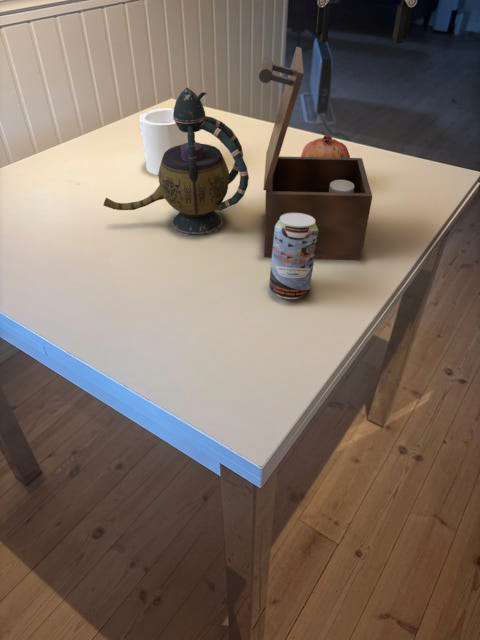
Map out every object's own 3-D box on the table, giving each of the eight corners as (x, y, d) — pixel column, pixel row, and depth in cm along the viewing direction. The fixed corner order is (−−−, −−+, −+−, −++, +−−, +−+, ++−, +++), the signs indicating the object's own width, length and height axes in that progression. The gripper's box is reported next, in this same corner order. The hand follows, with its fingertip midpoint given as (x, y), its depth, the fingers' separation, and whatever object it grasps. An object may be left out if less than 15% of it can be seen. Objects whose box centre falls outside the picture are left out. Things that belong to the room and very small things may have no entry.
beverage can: (265, 302, 72) (267, 231, 64) (274, 273, 77) (277, 204, 69) (307, 308, 70) (315, 236, 62) (314, 278, 76) (322, 209, 68)
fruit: (358, 187, 99) (366, 138, 92) (323, 202, 94) (329, 151, 88) (320, 170, 105) (325, 122, 99) (286, 183, 101) (289, 134, 94)
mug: (153, 150, 114) (147, 103, 107) (196, 150, 114) (193, 103, 107) (142, 175, 104) (134, 125, 97) (189, 176, 104) (185, 125, 97)
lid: (301, 47, 72) (266, 37, 72) (303, 73, 62) (262, 62, 61) (270, 154, 83) (240, 145, 82) (268, 191, 73) (233, 182, 72)
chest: (352, 217, 90) (362, 157, 82) (360, 260, 79) (372, 196, 72) (266, 215, 91) (268, 156, 83) (264, 257, 80) (265, 193, 73)
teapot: (249, 237, 85) (250, 97, 70) (104, 245, 84) (72, 104, 68) (242, 204, 94) (241, 74, 79) (112, 211, 93) (85, 79, 77)
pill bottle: (347, 224, 86) (354, 177, 80) (354, 240, 82) (362, 191, 76) (317, 225, 86) (322, 178, 80) (323, 241, 82) (329, 193, 76)
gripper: (305, -135, 51) (295, 47, 63) (474, -138, 50) (432, 48, 61) (303, -132, 57) (294, 34, 68) (455, -135, 56) (420, 35, 67)
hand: (360, 40), depth 65 cm, fingers open, 9 cm apart
